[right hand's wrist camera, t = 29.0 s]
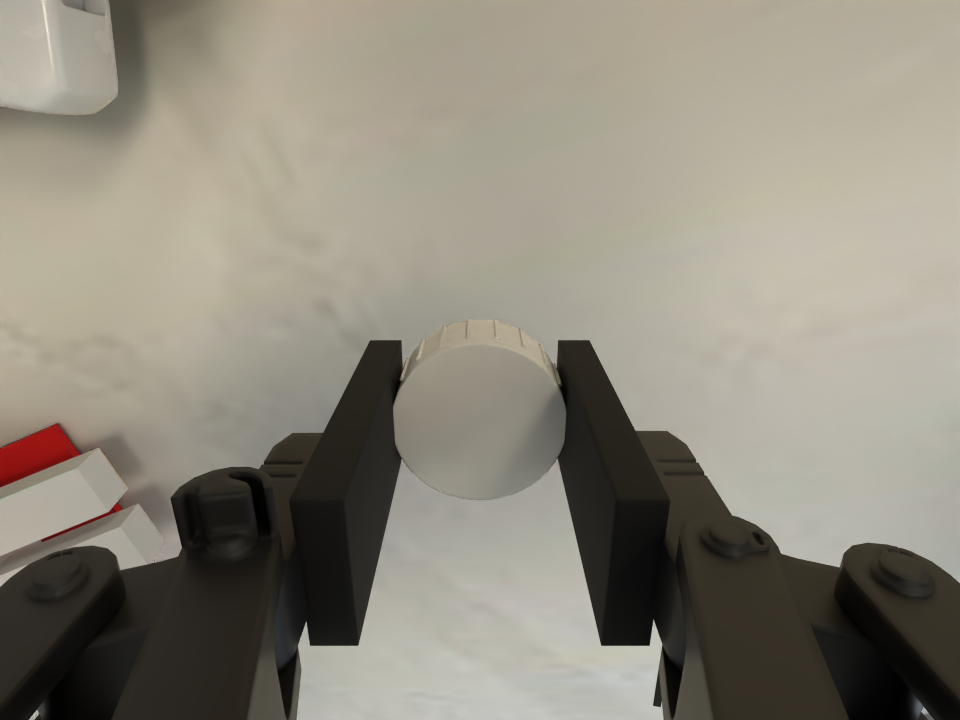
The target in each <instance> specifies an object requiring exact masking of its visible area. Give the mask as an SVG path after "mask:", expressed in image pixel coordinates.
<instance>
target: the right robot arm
mask: <svg viewBox="0 0 960 720" xmlns="http://www.w3.org/2000/svg"><path fill="white" fill-rule="evenodd" d="M402 370H403V363H402V345H401V340H370V342H369V344H368V346H367V348H366V350H365V352H364V354H363V356H362V358H361V360H360V362H359V364H358V366H357V368H356V370H355V371H354V373H353V375H352V377H351V379H350V381H349V383H348V385H347V387H346V389H345V391H344V393H343V395H342V397H341V399H340V401H339V403H338V405H337V407H336V409H335V411H334V413H333V415H332V417H331V419H330V421H329V423H328V425H327V427H326V429H325V431H324V433H292V434H290V435H289V436H288V437H286V438H285V439H283V440H282V441H281V442H279V443H278V444H276V445H275V446H274V447H273V448H272V450H271V451H270V453H269V454H268V456H267V458H266V459H265V461H264V465H261V467H260V469H255V468H251V467H229V468H224V469H219V470H213V471H210V472H208V473H205V474H203V475H200V476H197V477H195V478H193V479H192V480H190V481H188V482H187V483H185V484H184V485H182V486H181V487H179V489H178V490H177V491H176V492H175V493H174V495H173V496H172V497H171V503H172V507H173V511H174V515H175V520H176V524H177V528H178V533H179V537H180V541H181V545H182V549H181V552H180V554H179V556H178V557H175V558H172V559H168V560H164V561H161V562H156V563H151V564H147V565H142V566H137V567H133V568H128V569H123V570H120V567H119V563H118V560H117V556H116V555H115V554H114V553H113V552H111V551H110V550H109V549H108V548H103V547H98V546H93V545H92V546H81V547H72V548H68V549H64V550H62V551H57V552H54V553H51V554H49V555H47V556H45V557H43V558H41V559H39V560H36V561H34V562H32V563H30V564H28V565H27V566H26V567H24V568H23V569H21V570H20V571H19V572H17V573H16V574H15V575H13V576H12V577H10V578H9V579H8V580H7V581H6V582H5V583H4V584H3V585H2V586H1V587H0V720H29V719H30V717H31V716H32V715H33V714H34V712H35V711H36V710H38V712H39V715H38V716H37V717H36V719H35V720H296V718H297V708H298V698H299V688H300V678H301V664H300V657H299V651H298V643H299V640H300V638H301V635H302V632H303V629H304V626H305V623H306V621H307V628H308V634H309V641H310V646H358V644H359V640H360V636H361V632H362V627H363V623H364V619H365V614H366V610H367V606H368V602H369V597H370V593H371V589H372V584H373V580H374V576H375V571H376V567H377V563H378V559H379V554H380V550H381V546H382V541H383V537H384V533H385V529H386V524H387V520H388V516H389V511H390V507H391V503H392V499H393V494H394V490H395V486H396V481H397V477H398V473H399V468H400V464H401V460H402V458H401V456H400V454H399V452H398V450H397V448H396V445H395V432H394V416H393V405H394V401H395V398H396V395H397V391H398V388H399V385H400V382H401V380H400V377H401V374H402ZM557 371H558V374H559V377H560V380H561V383H562V386H561V387H560V388H561V391H562V395H563V398H564V401H565V404H566V426H565V441H564V445H563V447H562V450H561V452H560V454H559V456H558V461H559V466H560V470H561V474H562V479H563V483H564V487H565V492H566V496H567V500H568V504H569V509H570V513H571V517H572V522H573V526H574V530H575V534H576V539H577V543H578V547H579V552H580V556H581V560H582V564H583V569H584V573H585V577H586V582H587V586H588V590H589V595H590V599H591V603H592V607H593V612H594V616H595V620H596V625H597V629H598V633H599V637H600V642H601V646H650V639H651V632H652V625H653V619H654V621H655V624H656V627H657V630H658V633H659V636H660V639H661V641H662V644H663V645H662V651H661V657H660V664H659V670H658V677H657V683H656V690H655V696H654V703H653V706H658V707H661V702H662V707H663V717H664V720H927V718H926V717H925V716H924V715H923V713H922V712H921V711H922V708H923V706H924V708H925V709H926V710H927V711H928V712H929V714H930V715H931V716H932V717H933V719H934V720H960V583H959V582H958V581H956V580H955V579H954V578H953V577H952V576H951V575H950V574H948V573H947V572H946V571H944V570H943V569H941V568H940V567H939V566H937V565H936V564H934V563H933V562H932V561H930V560H927V559H925V558H923V557H921V556H919V555H917V554H915V553H913V552H911V551H908V550H905V549H902V548H898V547H895V546H890V545H886V544H875V543H864V544H859V545H854V546H852V547H850V548H849V549H848V550H847V551H846V552H845V553H844V555H843V558H842V562H841V565H840V568H839V567H834V566H830V565H825V564H820V563H815V562H811V561H806V560H801V559H797V558H794V557H790V556H786V555H783V554H781V553H780V551H779V548H778V546H777V545H776V543H775V542H774V541H773V539H772V538H771V536H770V535H769V534H767V533H766V532H765V531H763V530H762V529H761V528H759V527H758V526H757V525H755V524H753V523H751V522H748V521H746V520H744V519H742V518H739V517H736V516H732V515H731V513H730V512H729V510H728V508H727V507H726V505H725V504H724V502H723V501H722V499H721V498H720V496H719V495H718V493H717V491H716V490H715V488H714V487H713V485H712V484H711V482H710V481H709V479H708V477H707V476H704V471H703V470H702V468H701V467H700V465H699V464H698V463H696V459H695V457H694V456H693V454H692V453H691V451H690V450H689V448H688V446H687V445H686V444H685V443H683V442H682V441H681V440H679V439H678V438H676V437H675V436H673V435H672V434H671V433H669V432H668V431H635V429H634V427H633V426H632V424H631V422H630V420H629V418H628V416H627V414H626V412H625V410H624V408H623V406H622V404H621V402H620V400H619V398H618V396H617V394H616V392H615V390H614V388H613V386H612V384H611V382H610V380H609V378H608V376H607V374H606V372H605V370H604V368H603V366H602V364H601V362H600V360H599V358H598V357H597V355H596V353H595V351H594V349H593V347H592V345H591V343H590V341H589V340H558V356H557Z"/></svg>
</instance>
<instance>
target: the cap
mask: <svg viewBox="0 0 960 720" xmlns="http://www.w3.org/2000/svg"><path fill="white" fill-rule="evenodd" d="M400 380H401V382H400V385H399V388H398V391H397V395H396V398H395V401H394V405H393V416H394V432H395V445H396V448H397V450H398V452H399V454H400V456H401V458H402V459H403V461H404V462H405V464H406V465H407V467H408V468H409V469H410V470H411V471H412V472H413V473H414V474H415V475H416V476H417V477H418V478H419V479H420V480H421V481H423V482H424V483H426V484H427V485H429V486H430V487H432V488H434V489H436V490H438V491H440V492H442V493H445V494H447V495H450V496H454V497H458V498H463V499H470V500H488V499H496V498H501V497H505V496H508V495H512V494H514V493H517V492H519V491H521V490H523V489H525V488H527V487H529V486H530V485H532V484H533V483H535V482H536V481H537V480H539V479H540V478H541V477H542V476H543V475H544V474H545V473H546V472H547V471H548V470H549V469H550V468H551V466H552V465H553V464H554V463H555V461H556V459H557V458H558V456H559V454H560V452H561V450H562V447H563V445H564V441H565V426H566V404H565V401H564V398H563V395H562V391H561V388H560V387H561V386H562V383H561V380H560V377H559V374H558V371H557V368H556V365H555V363H554V364H552V362H551V360H550V358H549V357H548V355H547V354H546V352H545V351H544V348H543V345H542V344H541V343H540V344H538V343H537V342H536V341H535V340H534V339H532V338H531V337H530V336H529V335H527V334H526V333H524V332H523V329H521V328H519V329H517V328H515V327H512V326H510V325H507V324H504V323H501V322H498V320H494V321H490V320H471V319H468V321H464V322H459V323H455V324H452V325H449V326H445V325H444V326H442V329H440V330H438V331H436V332H435V333H433V334H432V335H430V336H429V337H428V338H426V339H425V340H424V339H422V340H421V342H420V345H419V346H418V347H417V348H416V350H415V351H414V352H413V354H412V355H411V357H410V358H407V359H406V361H405V364H404V367H403V370H402V374H401V377H400Z"/></svg>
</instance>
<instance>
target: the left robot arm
mask: <svg viewBox="0 0 960 720" xmlns="http://www.w3.org/2000/svg"><path fill="white" fill-rule="evenodd" d="M117 94H118V78H117V69H116V60H115V51H114V42H113V32H112V23H111V14H110V5H109V0H0V106H2V107H8V108H13V109H19V110H24V111H32V112H39V113H50V114H65V115H91V114H95V113H97V112H99V111H100V110H101V109H103V108H104V107H105V106H106V105H108V104H109V103H110V102H111V101H112V100H114V99H115V98H116V96H117Z"/></svg>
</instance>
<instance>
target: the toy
mask: <svg viewBox="0 0 960 720" xmlns="http://www.w3.org/2000/svg"><path fill="white" fill-rule="evenodd" d="M127 490H128V488H127V486H126V485H125V484H124V482H123V481H122V479H121V478H120V477H119V475H118V474H117V472H116V471H115V470H114V468H113V467H112V465H111V464H110V462H109V461H108V460H107V458H106V457H105V455H104V454H103V453H102V451H101V450H100V448H99V447H98V448H96V449H93V450H91V451H89V452H86V453H84V454H81V455H80V453H79V452H78V451H77V449H76V448H75V447H74V445H73V444H72V443H71V441H70V440H69V439H68V438H67V436H66V435H65V434H64V432H63V431H62V430H61V428H60V427H59V426H58V424H55V425H53V426H50V427H48V428H46V429H43V430H41V431H39V432H37V433H34V434H32V435H30V436H28V437H25V438H23V439H21V440H18V441H16V442H14V443H12V444H9V445H7V446H5V447H3V448H0V587H1V586H2V585H3V584H4V583H5V582H6V581H7V580H8V579H9V578H10V577H12V576H13V575H15V574H16V573H17V572H19V571H20V570H21V569H23V568H24V567H26V566H27V565H28V564H30V563H32V562H34V561H36V560H39V559H41V558H43V557H45V556H47V555H49V554H51V553H54V552H57V551H62V550H64V549H68V548H72V547H81V546H92V545H93V546H98V547H103V548H108V549H109V550H110V551H111V552H113V553H114V554H115V555H116V556H117V560H118V563H119V567H120V570H123V569H128V568H133V567H137V566H142V565H147V564H151V563H152V562H153V561H154V559H155V558H156V556H157V555H158V553H159V551H160V550H161V548H162V547H163V545H164V543H165V542H166V541H165V540H164V538H163V537H162V536H161V534H160V533H159V531H158V530H157V529H156V527H155V526H154V524H153V523H152V522H151V520H150V519H149V517H148V516H147V515H146V513H145V512H144V510H143V509H142V508H141V506H140V505H139V503H138V504H135V505H133V506H130V507H128V508H125V509H123V510H122V508H121V507H120V506H119V504H118V503H117V502H118V500H119V499H120V498H121V497H122V496H123V494H124V493H125V492H126V491H127Z"/></svg>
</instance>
